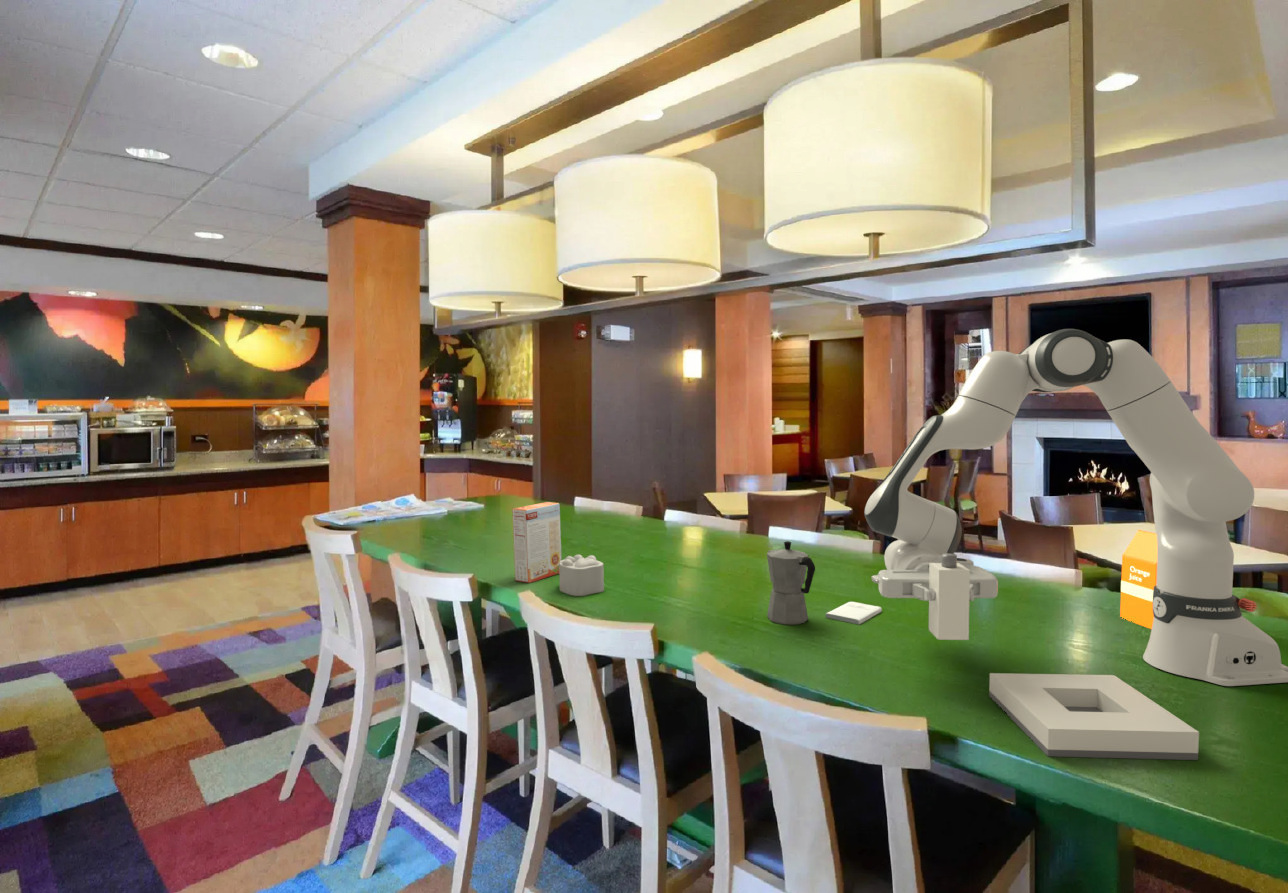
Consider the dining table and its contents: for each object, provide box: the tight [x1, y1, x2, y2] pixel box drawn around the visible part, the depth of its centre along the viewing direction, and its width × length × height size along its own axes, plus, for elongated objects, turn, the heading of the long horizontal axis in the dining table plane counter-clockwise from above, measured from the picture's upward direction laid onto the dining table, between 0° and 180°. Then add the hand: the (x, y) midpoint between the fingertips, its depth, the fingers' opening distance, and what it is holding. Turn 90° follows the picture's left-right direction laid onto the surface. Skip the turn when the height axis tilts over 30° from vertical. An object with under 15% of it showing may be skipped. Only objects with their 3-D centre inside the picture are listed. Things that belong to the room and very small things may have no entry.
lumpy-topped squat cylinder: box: [558, 554, 605, 597], centre depth 190 cm, size 10×13×9 cm
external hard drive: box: [824, 601, 883, 625], centre depth 164 cm, size 2×8×12 cm
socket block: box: [988, 672, 1200, 761], centre depth 108 cm, size 20×20×4 cm
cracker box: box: [511, 501, 563, 584], centre depth 202 cm, size 14×6×21 cm, turn 144°
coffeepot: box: [766, 540, 816, 626], centre depth 160 cm, size 15×9×18 cm, turn 28°
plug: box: [928, 553, 970, 641], centre depth 121 cm, size 5×5×14 cm
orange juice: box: [1119, 529, 1157, 630], centre depth 155 cm, size 8×9×20 cm
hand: (950, 596), depth 120 cm, fingers closed on plug, 5 cm apart
